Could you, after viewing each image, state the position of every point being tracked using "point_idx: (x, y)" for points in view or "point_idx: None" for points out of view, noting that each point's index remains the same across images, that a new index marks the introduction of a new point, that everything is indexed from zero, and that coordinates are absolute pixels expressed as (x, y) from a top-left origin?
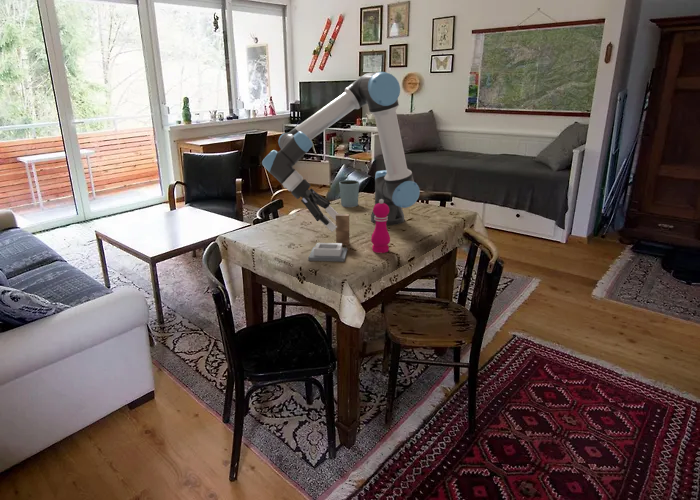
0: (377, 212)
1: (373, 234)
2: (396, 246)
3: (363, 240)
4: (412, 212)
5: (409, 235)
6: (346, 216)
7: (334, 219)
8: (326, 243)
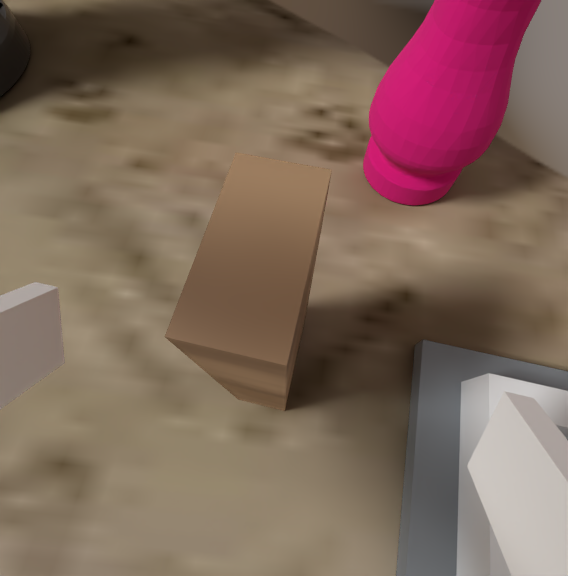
0: None
1: (476, 117)
2: (352, 101)
3: None
4: None
5: (208, 35)
6: (324, 203)
7: (36, 382)
8: None
